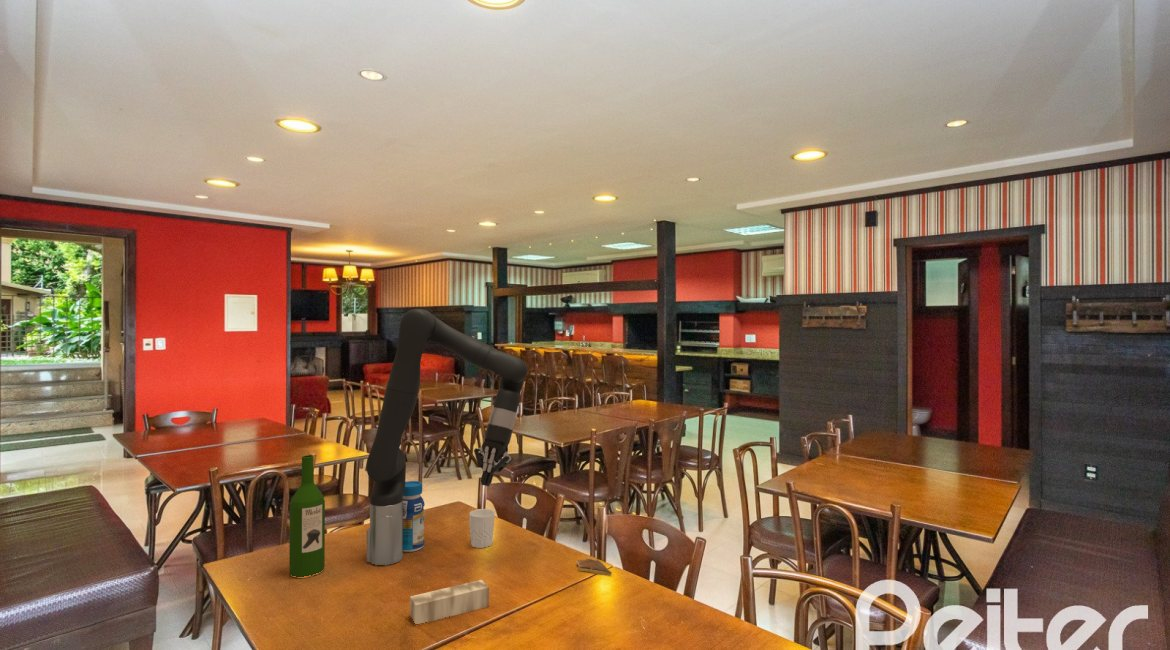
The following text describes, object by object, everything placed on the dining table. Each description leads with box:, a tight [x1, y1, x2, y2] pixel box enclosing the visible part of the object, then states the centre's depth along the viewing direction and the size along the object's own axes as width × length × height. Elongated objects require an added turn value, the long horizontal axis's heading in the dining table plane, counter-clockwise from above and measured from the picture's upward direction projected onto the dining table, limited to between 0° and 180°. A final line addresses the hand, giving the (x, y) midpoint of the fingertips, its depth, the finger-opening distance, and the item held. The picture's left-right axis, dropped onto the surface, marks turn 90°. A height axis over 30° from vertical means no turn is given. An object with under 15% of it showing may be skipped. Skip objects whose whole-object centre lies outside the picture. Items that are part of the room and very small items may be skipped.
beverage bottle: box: [403, 480, 426, 553], centre depth 179 cm, size 8×8×20 cm
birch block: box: [409, 579, 490, 625], centre depth 140 cm, size 5×5×18 cm
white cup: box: [468, 508, 495, 549], centre depth 182 cm, size 8×8×10 cm
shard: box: [575, 558, 613, 576], centre depth 163 cm, size 11×8×2 cm
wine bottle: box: [288, 454, 326, 577], centre depth 162 cm, size 9×9×32 cm
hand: (485, 485), depth 164 cm, fingers closed
